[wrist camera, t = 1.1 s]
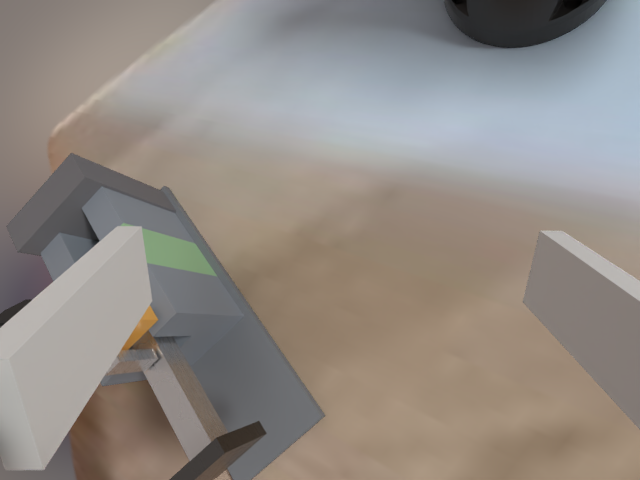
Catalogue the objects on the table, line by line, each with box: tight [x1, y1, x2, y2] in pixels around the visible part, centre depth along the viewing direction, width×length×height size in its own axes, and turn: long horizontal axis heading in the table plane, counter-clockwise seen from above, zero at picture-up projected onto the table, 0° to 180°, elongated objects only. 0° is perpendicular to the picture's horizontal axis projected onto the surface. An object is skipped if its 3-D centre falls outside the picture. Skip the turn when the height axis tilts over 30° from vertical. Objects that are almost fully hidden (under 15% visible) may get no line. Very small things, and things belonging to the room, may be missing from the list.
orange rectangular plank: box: [121, 305, 158, 350], centre depth 34 cm, size 2×6×3 cm, turn 130°
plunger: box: [105, 330, 267, 480], centre depth 35 cm, size 17×6×8 cm, turn 40°
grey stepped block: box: [7, 153, 325, 480], centre depth 40 cm, size 32×11×13 cm, turn 40°
